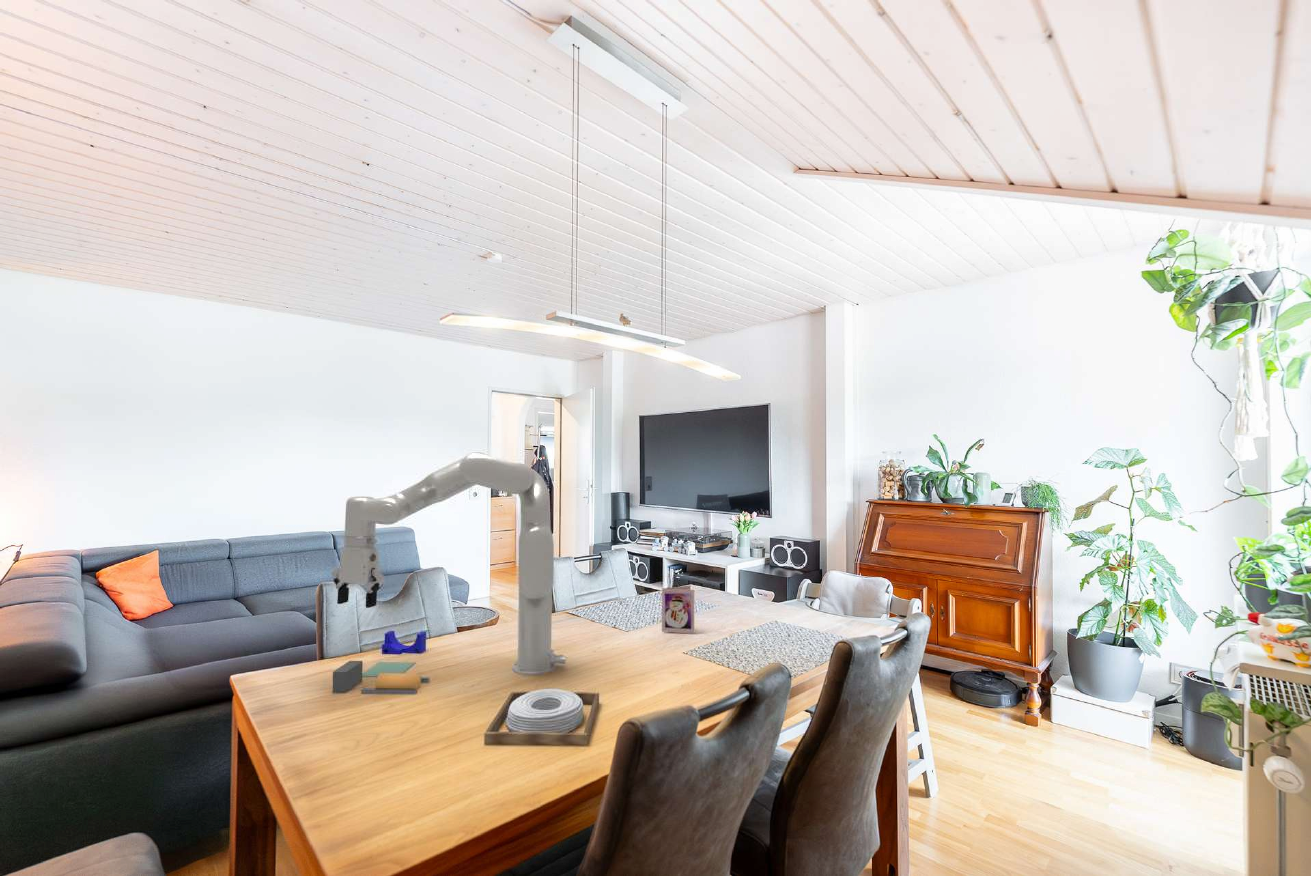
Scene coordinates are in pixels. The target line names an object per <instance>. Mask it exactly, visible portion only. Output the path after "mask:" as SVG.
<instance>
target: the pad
mask: <svg viewBox="0 0 1311 876" xmlns="http://www.w3.org/2000/svg"><path fill="white" fill-rule="evenodd" d="M416 664H417V663H416V662H415V661H414V662H413V661H410V662H407V661H405V662H404V661H378V662H377V663H376V664H374V665H372V666H371V667H370V668H368V669H367V670H365V671H363V672H362V678H368V677H369V678H377V677H378V675H379V674H380V673H393V674H405V673H406V672H407V671H408V670H409V669H411V668H412V667H413V666H414V665H416Z"/></svg>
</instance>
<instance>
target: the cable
mask: <svg viewBox="0 0 1311 876" xmlns="http://www.w3.org/2000/svg"><path fill="white" fill-rule="evenodd" d="M528 692H529V693H526V694H524V695H522V696H520V697H519V698H517V699H515V700H514V701H513V702H512V703H511V705H510V708H509V710H508V715H507V716H506V718H505V724H506V727H507V729H508V730H509V732H543V733H571V732H572V731H573V730H575V729H577V728H578V727H579V726H580V725H581V724H582V723H583V720H584V705H583V702H582V700H581V698H580V697H579V696H577V695H576V694H574V693H572V692H573V691H572V692H571V691H569V690H566V689H558V688H543V689H537V690H533V691H528Z"/></svg>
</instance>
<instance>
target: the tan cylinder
mask: <svg viewBox="0 0 1311 876" xmlns="http://www.w3.org/2000/svg"><path fill="white" fill-rule="evenodd" d="M421 677H422V676H421V674H420V673H403V674H393V673H380V674H379V675H378V677H376V678H377V679H375V684H374V688H403V689H417V690H418V689H419V688H420V687H421V684H422V683H421Z"/></svg>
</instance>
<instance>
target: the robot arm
mask: <svg viewBox="0 0 1311 876" xmlns="http://www.w3.org/2000/svg"><path fill="white" fill-rule="evenodd" d="M476 485H478V486H481V487H485V488H489V489H491V490H492V489H493V490H496V491H499V492H503V493H507V494H512V495H518V496H519V500H520V502H519V503H520V531H519V536H518V576H517V577H518V612H517V613H518V616H517V618H518V620H517V622H518V623H517V625H518V627H517V660H516V661H515V662H513V664H512V668H511V669H512V672H513V673H514V674H518V675H521V676H522V675H523V676H538V675H545V674H548V673H550V672H553V671H554V670H555V669H557V664H559V665H561V664H563V665H565V664H567V656H564V654H556V653H555V649H552V625H553V623H552V619H553V618H552V615H553V605H552V604H553V596H552V595H553V593H552V591H553V590H552V588H553V586H554V571H555V570H554V568H555V567H554V562H555V559H554V558H555V556H554V549H555V548H554V545H555V543H554V538H553V537H554V536H553V533H552V530H551V529H552V527H551V500H550V499H551V498H550V492H549V489H548V485H547V484H546V482H545V480H544V478H543V477H542V476H541V474H539V473H538V472H537V471H536V470H535V469H533V468H532V467H530V466H528V465H526V464H523V463H519V462H514V461H513V462H512V461H509V460H505V459H501V458H498V457H497V458H496V457H494V456H491V455H487V454H486V453H483V452H470V453H467V455H466V456H464V457H463V458H460V459H458V460H457V461H454V462H452V463H450V464H448V465H446V466H443V467H442V468H439V469H438V470H435V471H433V472H432V473H429V474H428V475H426V477H424V478H423V479H422V480H420V481H419V482H417V483H415V484H413V485H410V486H409V487H407V488H405V489H403V490H401V491H399V492H397V493H394V494H392V495H389V496H386V497H382V498H381V497H379V498H375V497H372V496H351V497H349V498H347V500H346V503H345V515H344V516H345V520H344V538H343V540H344V541H343V547H342V549H341V553H340V559H339V566H338V568H337V569H335V570H332V571H331V576H332V579H333V582H334V584H335V588H336V589H337V599H336V600H337V601H336V602H337V603H336V604H337V605H341V604H344V603H345V604H346V603H348V602H349V595H350V589H349V585H350V584H351V585H357V586H364V587H365V589H366V590H367V592H366V595H365V608H366V609H369V608H372V607H373V608H374V607H376V606H377V601H378V600H377V599H378V597H377V596H378V592H379V591H380V589H381V587H383V586H384V585H383V584H384V582H385V579H386V576H385V575H384V574H383V573H381V572H380V558H379V551H378V547H377V546H375V545H376V544H377V541H378V540H377V539H376V525H377V524H378V525H386V526H390V525H394V524H396V523H399V521H402V520H404V519H405V518H407V517H410V516H411V515H413V514H415V513H417V512H419V511H422V510H423V509H426V508H428V507H430V506H432V505H435V504H438V503H441V502H445V501H446V500H449V499H450V498H452V497H454V496H456V495H459V494H460V493H462V492H464V491H466V490H468V489H470V488H472V487H475V486H476Z"/></svg>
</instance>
